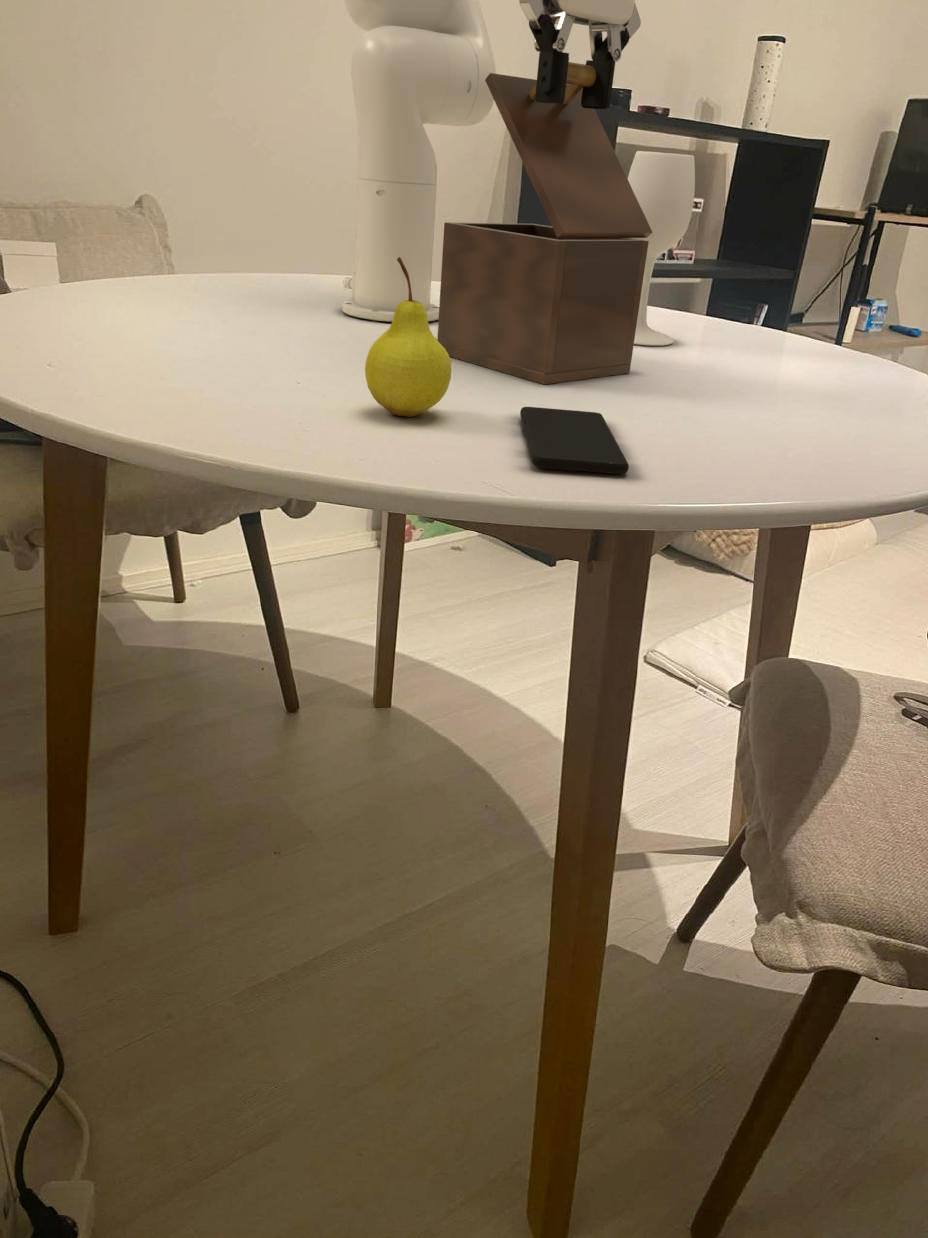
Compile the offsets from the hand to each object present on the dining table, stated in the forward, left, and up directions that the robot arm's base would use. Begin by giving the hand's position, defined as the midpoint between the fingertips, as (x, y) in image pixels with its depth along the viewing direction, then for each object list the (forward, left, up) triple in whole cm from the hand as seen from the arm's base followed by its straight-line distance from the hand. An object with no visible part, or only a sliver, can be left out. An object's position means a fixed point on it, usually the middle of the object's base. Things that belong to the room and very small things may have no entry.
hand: (572, 103), depth 92 cm
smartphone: (+22, -20, -24) cm, 39 cm away
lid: (0, 0, -5) cm, 5 cm away
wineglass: (-7, +24, -25) cm, 35 cm away
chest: (-2, 0, -24) cm, 24 cm away
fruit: (+9, -26, -25) cm, 37 cm away
